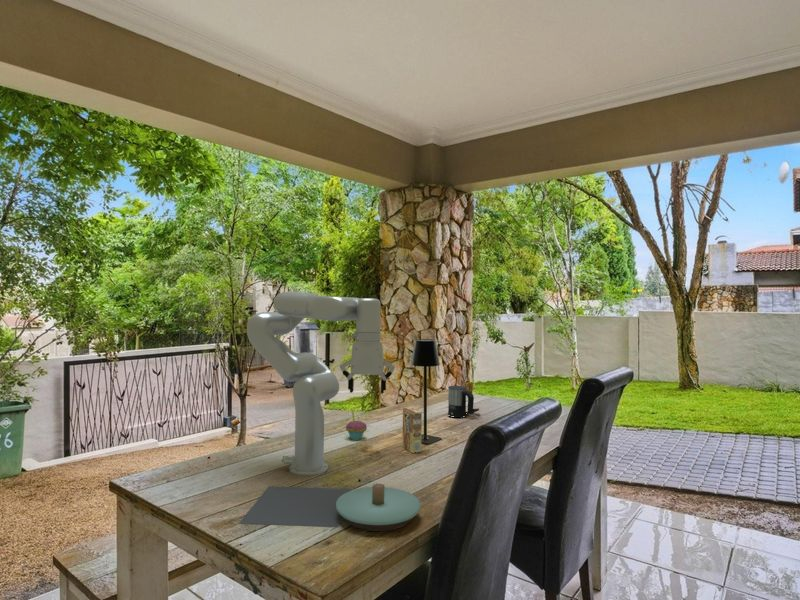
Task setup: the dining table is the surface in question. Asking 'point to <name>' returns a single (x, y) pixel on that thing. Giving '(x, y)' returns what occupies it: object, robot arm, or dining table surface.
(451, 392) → the milk frother
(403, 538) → the dining table surface
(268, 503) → the mat
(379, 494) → the lid
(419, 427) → the candy box
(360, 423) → the cupcake
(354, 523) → the plant saucer
